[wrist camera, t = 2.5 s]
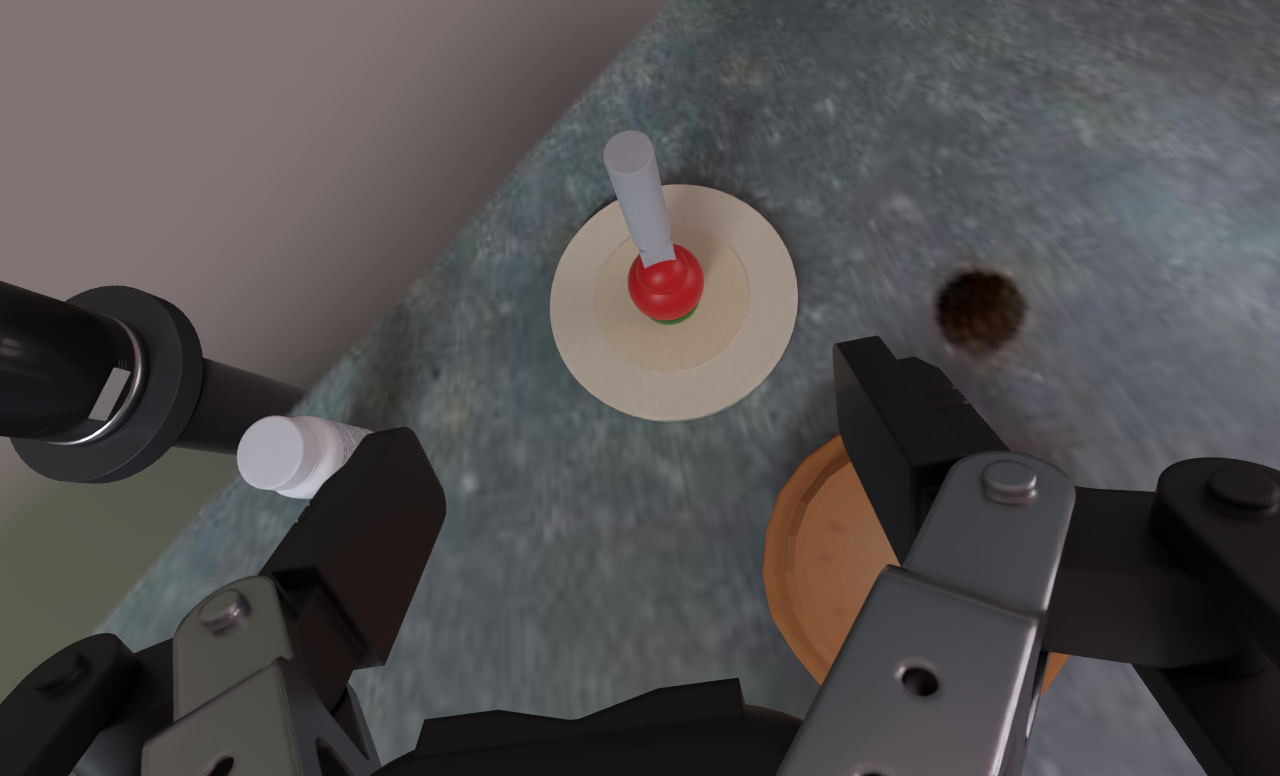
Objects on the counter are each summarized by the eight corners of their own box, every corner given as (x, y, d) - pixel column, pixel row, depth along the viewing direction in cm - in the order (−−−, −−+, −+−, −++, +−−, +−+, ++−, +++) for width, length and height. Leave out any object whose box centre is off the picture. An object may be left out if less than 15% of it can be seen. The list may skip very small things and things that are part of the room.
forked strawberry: (643, 339, 39) (583, 220, 24) (627, 274, 40) (560, 119, 25) (713, 320, 39) (699, 186, 23) (695, 254, 40) (670, 85, 24)
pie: (836, 382, 38) (851, 362, 33) (1096, 514, 34) (1156, 513, 29) (712, 609, 36) (708, 622, 31) (971, 773, 32) (1012, 817, 28)
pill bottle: (348, 419, 42) (255, 395, 34) (406, 445, 41) (325, 426, 33) (316, 485, 41) (214, 476, 33) (375, 512, 40) (284, 510, 32)
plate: (521, 386, 41) (517, 383, 40) (594, 171, 43) (591, 163, 43) (760, 452, 38) (761, 450, 37) (823, 215, 40) (825, 208, 39)
